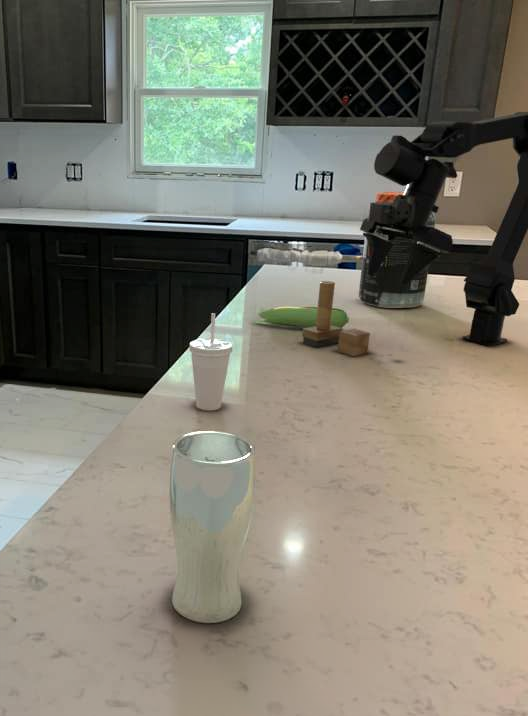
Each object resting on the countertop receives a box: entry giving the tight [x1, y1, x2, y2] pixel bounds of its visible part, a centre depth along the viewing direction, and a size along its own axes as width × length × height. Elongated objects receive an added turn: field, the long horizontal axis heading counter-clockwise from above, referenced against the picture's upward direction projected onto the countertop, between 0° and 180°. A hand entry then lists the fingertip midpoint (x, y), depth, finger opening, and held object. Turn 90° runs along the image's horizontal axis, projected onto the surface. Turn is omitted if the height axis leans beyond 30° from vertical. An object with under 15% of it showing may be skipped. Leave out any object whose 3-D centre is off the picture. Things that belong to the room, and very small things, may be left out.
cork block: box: [337, 328, 371, 357], centre depth 139 cm, size 4×4×4 cm
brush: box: [302, 280, 343, 348], centre depth 143 cm, size 7×4×12 cm, turn 126°
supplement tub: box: [358, 191, 436, 309], centre depth 176 cm, size 16×16×26 cm
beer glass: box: [168, 430, 256, 624], centre depth 61 cm, size 7×7×15 cm
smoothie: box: [188, 312, 234, 411], centre depth 108 cm, size 6×6×14 cm
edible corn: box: [253, 306, 350, 329], centre depth 156 cm, size 5×20×5 cm, turn 73°
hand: (385, 280), depth 134 cm, fingers open, 9 cm apart
